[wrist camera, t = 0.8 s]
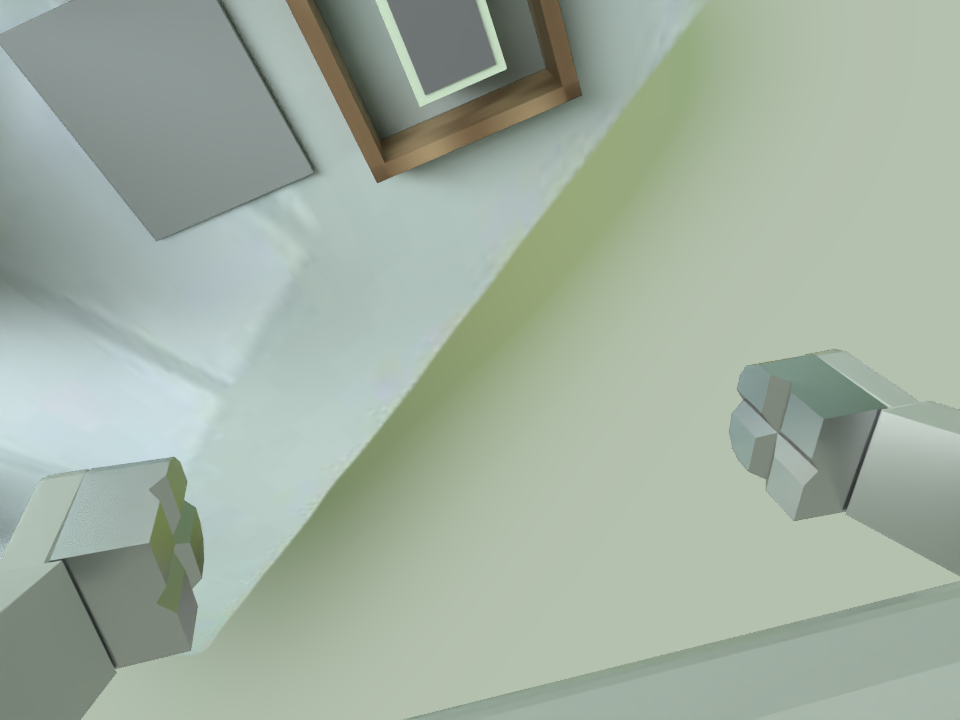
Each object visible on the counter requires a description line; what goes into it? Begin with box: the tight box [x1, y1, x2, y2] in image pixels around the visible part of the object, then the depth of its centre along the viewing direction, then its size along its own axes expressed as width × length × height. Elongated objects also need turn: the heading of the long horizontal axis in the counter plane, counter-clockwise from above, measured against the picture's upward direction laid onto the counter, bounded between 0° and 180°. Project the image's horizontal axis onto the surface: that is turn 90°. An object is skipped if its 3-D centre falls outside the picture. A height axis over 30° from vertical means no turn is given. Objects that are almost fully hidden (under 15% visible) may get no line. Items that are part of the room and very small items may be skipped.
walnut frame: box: [286, 0, 582, 183], centre depth 39 cm, size 14×16×4 cm
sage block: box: [375, 0, 507, 107], centre depth 37 cm, size 5×6×9 cm
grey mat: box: [0, 0, 314, 241], centre depth 41 cm, size 12×14×1 cm
